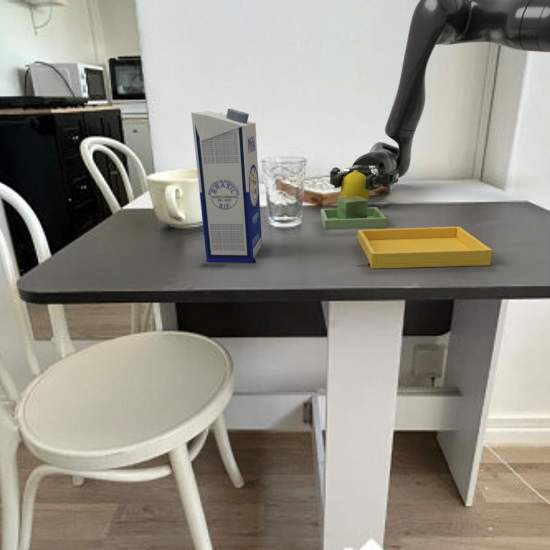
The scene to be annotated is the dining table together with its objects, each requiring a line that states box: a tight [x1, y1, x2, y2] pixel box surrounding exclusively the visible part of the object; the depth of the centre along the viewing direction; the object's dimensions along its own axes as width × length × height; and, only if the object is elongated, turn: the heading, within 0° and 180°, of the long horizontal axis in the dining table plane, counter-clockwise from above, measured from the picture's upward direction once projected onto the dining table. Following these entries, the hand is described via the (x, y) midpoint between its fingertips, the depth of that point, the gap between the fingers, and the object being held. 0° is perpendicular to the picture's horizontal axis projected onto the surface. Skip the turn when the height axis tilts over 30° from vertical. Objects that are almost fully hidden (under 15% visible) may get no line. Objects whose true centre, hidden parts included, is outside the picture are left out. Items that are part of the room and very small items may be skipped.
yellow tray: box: [357, 226, 493, 270], centre depth 61 cm, size 15×11×2 cm
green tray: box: [320, 206, 387, 230], centre depth 76 cm, size 10×8×2 cm
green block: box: [336, 196, 369, 219], centre depth 76 cm, size 4×4×4 cm
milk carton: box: [190, 108, 263, 263], centre depth 61 cm, size 7×7×20 cm
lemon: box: [340, 170, 371, 201], centre depth 84 cm, size 6×6×8 cm
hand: (351, 182), depth 82 cm, fingers closed on lemon, 5 cm apart
